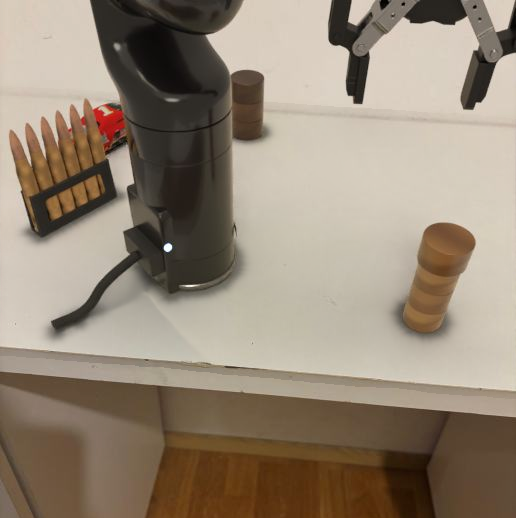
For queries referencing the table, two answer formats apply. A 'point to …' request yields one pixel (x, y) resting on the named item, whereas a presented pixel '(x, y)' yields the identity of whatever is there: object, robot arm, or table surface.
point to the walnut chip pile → (247, 104)
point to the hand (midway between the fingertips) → (411, 102)
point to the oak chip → (445, 249)
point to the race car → (108, 125)
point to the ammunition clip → (63, 171)
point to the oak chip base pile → (428, 300)
